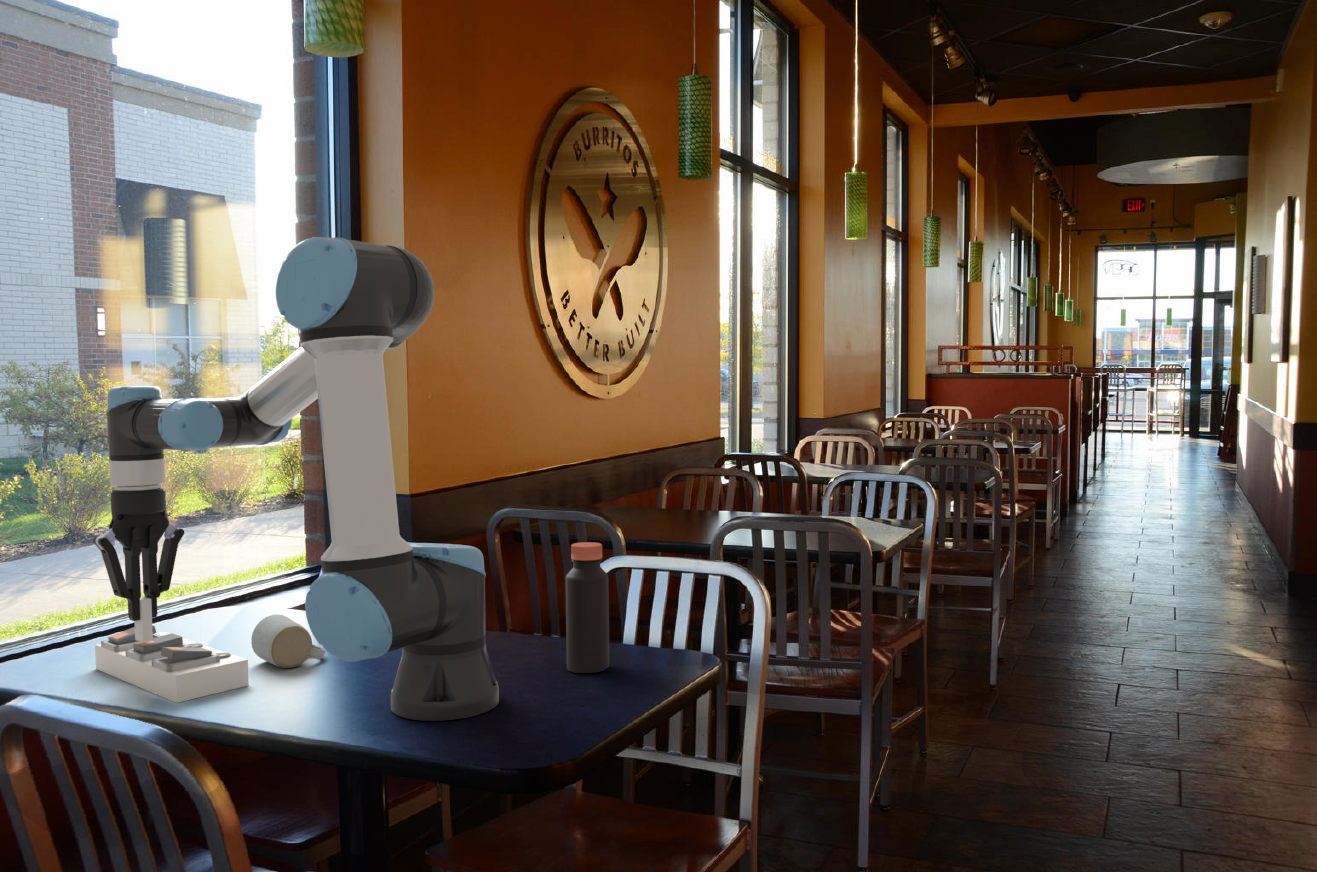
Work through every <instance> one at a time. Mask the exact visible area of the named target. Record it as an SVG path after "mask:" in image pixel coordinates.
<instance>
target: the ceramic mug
mask: <svg viewBox="0 0 1317 872" xmlns="http://www.w3.org/2000/svg"><path fill="white" fill-rule="evenodd" d="M312 639H313V638H312V636H311V634H310V632H309V631H308V629H306V628H305V627H304V626H302V625H301V624H299V623H298V622H297V621H294V620H293V619H291V618H290V617H288V616H286V615H283V614H271V615H268V616H266V617H264V618H263V619H261V620H260V621H259V622H258V623H257V624H256V625H255V627H254V629H253V631H252V633H251V642H250V644H251V648H252V651H253V652H254V653H255V655H256V656H257V657H258V658H260V659H262V660H263V661H266V662H267V663H269V664H272V665H273V666H276V667H278V668H281V669H292V668H296V667H299V666H301V665H302V664H304V663H305V662H306V661H307V659H308V658H309V657H310V658H312V659H316V660H322V659H324V657H325V655H326V652H327V651H326V650H325V648H324V647H320V646H318V645H315V644H313V640H312Z"/></svg>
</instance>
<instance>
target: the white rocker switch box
mask: <svg viewBox="0 0 1317 872" xmlns="http://www.w3.org/2000/svg"><path fill="white" fill-rule="evenodd" d="M167 634H170V633H168V632H166V631H161V632H156V633H155V634H153V638H156V637H160V636H163V635H167ZM182 640H183V644H182V645H178V646H174V647H201V648H204V649H207V650H210V651H212V655H211V656H210V657H205V658H201V659H170V658H167V657H164V656H161V651H162V650H160V651H156V652H153V653H149V654H144V655H143V654H141V653H138V652H135V651H134V647H133V643H137V642H140V641H135V642H132V643H127V644H122V645H115V644H113V643H110V642H109V640H108V639H105V640H101V641H100V643H96V644H94V647H95V648H94V650H95V651H94V652H95V655H94V656H95V670H98V671H100V672H102V673H105V674H107V675H109V676H112V677H114V678H116V679H119V680H121V681H124V682H126V683H128V684H130V685H133V686H135V687H138V688H141V689H142V690H145V691H147V692H150V693H152V694H155V695H156V696H158V697H161V698H164V699H166V700H169V701H172V702H174V703H176V704H177V703H181V702H185V701H190V700H194V699H197V698H203V697H207V696H211V695H214V694H218V693H223V692H227V691H232V690H235V689H239V688H244V687H247V686H249V683H250V682H249V659H248V658H244V657H242V656H239V655H235V654H232V653H230V652H227V651H223V650H220V649H217V648H214V647H212V646H209V645H205V644H202V643H199V642H196V641H193V640H190V639H187V638H184V637H182Z"/></svg>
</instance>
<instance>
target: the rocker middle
mask: <svg viewBox="0 0 1317 872" xmlns="http://www.w3.org/2000/svg"><path fill="white" fill-rule="evenodd" d="M182 638H183V636H181V635H178V634H176V633H175V634H174V633H169V634H167V635H163V636H160V637H156V638H153V641H148V642H137V643H133V647H134V651H135V652H138V653H141V654H143V655H144V654H149V653H153V652H156V651H160V650H162V647H174V646H178V645H182V644H183V640H182Z"/></svg>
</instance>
